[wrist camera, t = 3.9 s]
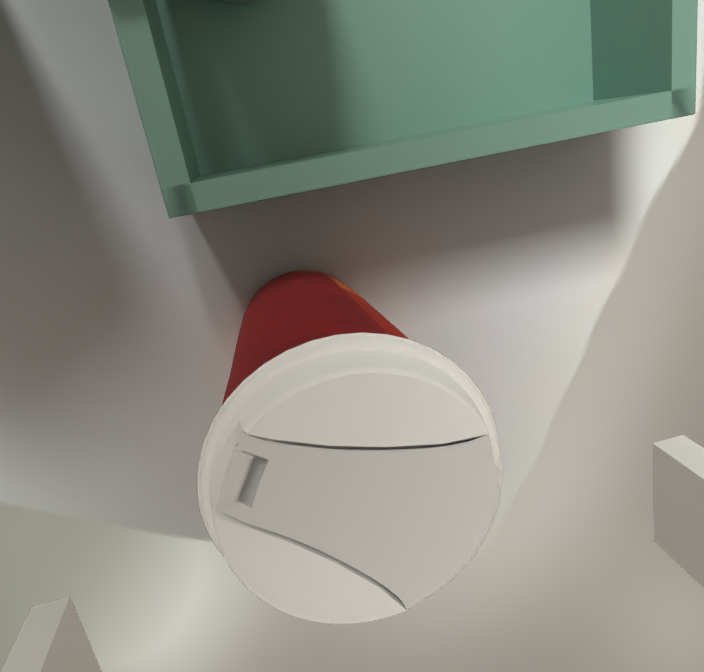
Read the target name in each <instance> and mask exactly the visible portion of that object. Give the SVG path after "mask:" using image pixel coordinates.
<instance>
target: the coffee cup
mask: <svg viewBox="0 0 704 672" xmlns="http://www.w3.org/2000/svg"><path fill="white" fill-rule="evenodd" d="M501 477H502V466H501V460H500V453H499V446H498V437H497V430H496V427H495V423H494V420H493V417H492V413H491V411H490V409H489V407H488V405H487V403H486V401H485V399H484V397H483V395H482V393H481V392H480V390H479V389H478V388H477V386H476V385H475V384H474V383H473V381H472V380H471V379H470V377H469V376H468V375H467V374H466V373H465V372H464V371H463V370H461V369H460V368H459V367H458V366H457V365H456V364H455V363H454V362H453V361H451V360H450V359H448V358H447V357H445V356H443V355H442V354H440V353H439V352H437V351H435V350H434V349H432V348H430V347H427V346H425V345H423V344H420V343H418V342H415V341H413V340H410V339H408V338H407V337H406V336H405V335H404V334H403V333H401V332H400V331H399V330H398V329H397V328H396V327H395V326H394V325H392V324H391V323H390V322H389V321H388V320H387V319H386V318H385V317H383V316H382V315H381V314H380V313H379V312H378V311H376V310H375V309H374V308H373V307H372V306H371V305H370V304H368V303H367V302H366V301H365V300H364V299H363V298H361V297H360V296H359V295H358V294H357V293H355V292H354V291H353V290H352V289H351V288H349V287H348V286H347V285H345V284H344V283H342V282H341V281H339V280H337V279H336V278H334V277H332V276H330V275H327V274H324V273H321V272H316V271H295V272H290V273H286V274H283V275H281V276H278V277H276V278H274V279H273V280H271V281H269V282H268V283H267V284H265V285H264V286H263V287H262V288H261V289H260V290H259V291H258V292H257V293H256V294H255V296H254V297H253V298H252V300H251V302H250V303H249V305H248V307H247V309H246V312H245V314H244V317H243V321H242V324H241V328H240V332H239V336H238V341H237V345H236V350H235V354H234V359H233V364H232V368H231V373H230V377H229V381H228V385H227V389H226V392H225V396H224V400H223V404H222V407H221V408H220V410H219V412H218V413H217V415H216V416H215V418H214V419H213V421H212V424H211V426H210V428H209V431H208V433H207V435H206V437H205V440H204V442H203V447H202V451H201V455H200V459H199V463H198V477H197V492H198V500H199V507H200V512H201V515H202V518H203V521H204V524H205V527H206V530H207V531H208V533H209V535H210V537H211V539H212V541H213V542H214V544H215V546H216V548H217V549H218V550H219V551H220V553H221V554H222V555H223V556H224V558H225V559H226V561H227V562H228V564H229V566H230V568H231V570H232V571H233V572H234V574H235V575H236V576H237V577H238V578H239V580H240V581H241V582H242V583H243V584H244V586H246V587H247V588H248V589H249V590H250V591H251V592H252V593H254V594H255V595H256V596H257V597H258V598H259V599H261V600H262V601H264V602H266V603H267V604H269V605H271V606H272V607H274V608H276V609H277V610H279V611H282V612H284V613H287V614H289V615H291V616H294V617H296V618H300V619H305V620H309V621H313V622H318V623H329V624H357V623H363V622H369V621H376V620H379V619H383V618H386V617H390V616H393V615H397V614H400V613H402V612H404V611H406V609H410V608H411V607H413V606H415V605H416V604H418V603H419V602H421V601H423V600H424V599H426V598H427V597H429V596H431V595H432V594H433V593H435V592H436V591H438V590H439V589H440V588H442V587H443V586H445V585H446V584H448V583H449V582H450V581H451V580H452V579H453V578H454V577H455V576H456V575H457V574H459V573H460V572H461V571H462V570H463V569H464V568H465V566H466V565H467V564H468V562H469V561H470V560H471V558H472V557H473V556H474V554H475V553H476V551H477V550H478V548H479V546H480V544H481V543H482V541H483V539H484V538H485V536H486V534H487V532H488V530H489V528H490V526H491V524H492V522H493V520H494V517H495V514H496V511H497V508H498V504H499V495H500V481H501Z"/></svg>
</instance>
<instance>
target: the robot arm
mask: <svg viewBox="0 0 704 672" xmlns="http://www.w3.org/2000/svg"><path fill="white" fill-rule="evenodd" d="M653 490H654V491H653V495H654V541H655V542H656V543H657V544H658V545H659V546H660V547H661V548H662V549H663V550H664V551H665V552H666V553H667V554H668V555H669V556H670V557H671V558H672V559H674V560H675V561H676V562H677V563H678V564H679V565H680V566H681V567H682V568H683V569H684V570H685V571H686V572H687V573H688V574H689V575H690V576H692V578H694V579H695V580H696V581H697V582H698V583H699V584H700V585H701V586H702V587H703V588H704V448H702V447H701V446H699V445H697V444H696V443H695V442H693V441H691V440H690V439H688V438H687V437H685V436H684V435H682V436H678V437H674V438H670V439H667V440H663V441H659V442H655V443H653ZM1 672H102V671H101V669H100V666H99V664H98V662H97V659H96V657H95V654H94V652H93V650H92V647H91V645H90V643H89V640H88V638H87V636H86V633H85V631H84V628H83V626H82V624H81V621H80V619H79V616H78V614H77V612H76V609H75V607H74V605H73V602H72V600H71V598H70V596H69V597H65V598H62V599H58V600H54V601H50V602H46V603H43V604H39V605H35V606H32V607H31V609H30V611H29V613H28V615H27V617H26V620H25V622H24V624H23V626H22V628H21V630H20V632H19V634H18V637H17V639H16V641H15V643H14V645H13V648H12V650H11V652H10V654H9V656H8V658H7V660H6V662H5V664H4V666H3V669H2V671H1Z"/></svg>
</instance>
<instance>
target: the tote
mask: <svg viewBox="0 0 704 672" xmlns="http://www.w3.org/2000/svg"><path fill="white" fill-rule="evenodd" d="M108 2H109V5H110V9H111V12H112V16H113V19H114V23H115V27H116V30H117V34H118V37H119V41H120V45H121V48H122V52H123V55H124V59H125V62H126V66H127V70H128V73H129V77H130V80H131V84H132V87H133V91H134V95H135V98H136V102H137V105H138V109H139V113H140V116H141V120H142V123H143V127H144V130H145V134H146V138H147V141H148V145H149V148H150V152H151V155H152V159H153V163H154V166H155V170H156V173H157V177H158V181H159V184H160V188H161V191H162V195H163V198H164V202H165V206H166V209H167V213H168V216H169V218H173V217H178V216H183V215H188V214H193V213H198V212H203V211H208V210H213V209H218V208H224V207H229V206H234V205H239V204H244V203H249V202H254V201H259V200H264V199H269V198H274V197H279V196H284V195H289V194H294V193H299V192H304V191H309V190H314V189H319V188H324V187H330V186H335V185H340V184H345V183H350V182H355V181H360V180H365V179H370V178H375V177H380V176H385V175H390V174H395V173H400V172H405V171H410V170H415V169H420V168H425V167H430V166H435V165H441V164H446V163H451V162H456V161H461V160H466V159H471V158H476V157H481V156H486V155H491V154H496V153H501V152H506V151H511V150H516V149H521V148H526V147H531V146H536V145H541V144H547V143H552V142H557V141H562V140H567V139H572V138H577V137H582V136H587V135H592V134H597V133H602V132H607V131H612V130H617V129H622V128H627V127H632V126H637V125H642V124H647V123H653V122H658V121H663V120H668V119H673V118H678V117H683V116H688V115H693V114H695V101H696V54H697V7H698V0H263V1H261V2H258V3H254V4H249V5H228V4H223V3H219V2H216V1H213V0H108Z"/></svg>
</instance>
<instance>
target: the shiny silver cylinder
mask: <svg viewBox="0 0 704 672" xmlns="http://www.w3.org/2000/svg"><path fill="white" fill-rule="evenodd" d="M213 1H216V2H219V3H223V4H228V5H249V4H254V3H258V2H261V1H263V0H213Z"/></svg>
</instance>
